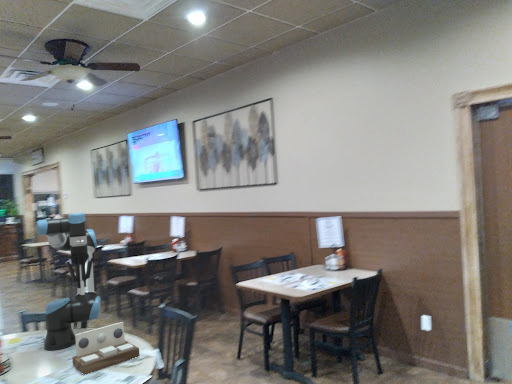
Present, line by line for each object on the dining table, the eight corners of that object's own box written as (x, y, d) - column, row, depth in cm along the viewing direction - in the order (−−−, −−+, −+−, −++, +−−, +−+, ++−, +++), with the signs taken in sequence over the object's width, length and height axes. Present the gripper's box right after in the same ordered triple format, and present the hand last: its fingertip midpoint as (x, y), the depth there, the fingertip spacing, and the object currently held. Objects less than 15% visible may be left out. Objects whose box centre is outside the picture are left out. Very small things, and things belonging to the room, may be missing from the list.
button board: (72, 365, 184) (72, 356, 184) (126, 349, 201) (125, 340, 201) (84, 375, 173) (83, 365, 173) (139, 356, 189) (139, 347, 189)
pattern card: (76, 356, 184) (75, 334, 184) (123, 342, 199) (122, 321, 199) (77, 357, 183) (76, 335, 183) (125, 343, 198) (123, 322, 198)
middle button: (99, 355, 185) (98, 349, 185) (112, 351, 189) (111, 345, 189) (104, 359, 181) (103, 352, 181) (117, 354, 185) (117, 348, 185)
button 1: (81, 364, 180) (80, 358, 180) (94, 359, 184) (94, 353, 184) (85, 367, 176) (85, 361, 176) (99, 363, 179) (99, 357, 179)
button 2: (116, 352, 191) (116, 347, 191) (129, 349, 194) (128, 343, 194) (121, 356, 186) (121, 350, 186) (134, 352, 190) (134, 346, 190)
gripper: (66, 247, 189) (70, 298, 189) (95, 243, 198) (98, 292, 197) (61, 246, 195) (65, 296, 194) (89, 243, 203) (93, 290, 203)
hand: (82, 294), depth 196 cm, fingers closed
